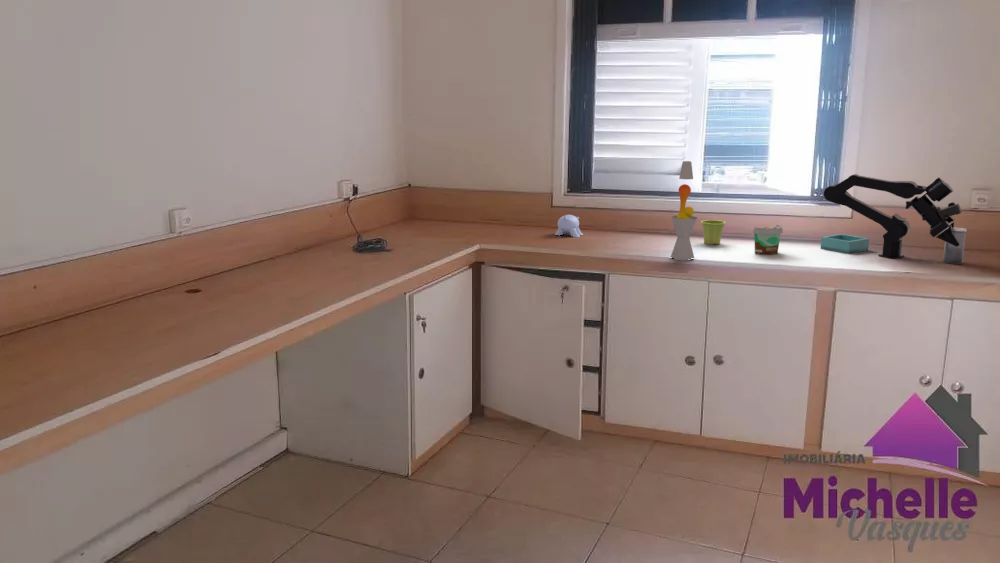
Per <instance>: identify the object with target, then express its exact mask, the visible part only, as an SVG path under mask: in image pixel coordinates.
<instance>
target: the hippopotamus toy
mask: <svg viewBox="0 0 1000 563" xmlns="http://www.w3.org/2000/svg"><path fill="white" fill-rule="evenodd" d="M579 219H580V217H579V216H575V215H573V214H565V215H563V216H561V217H560V218H559V219H558V220H557V227H558V229H557V230H556V232H555V234H554V236H555V235H563V234H564V235H566V234H567V232H569V234H570V237H572V236H573V237H572V238H579V237H581V236H580V235H582V236H583V235H584V233H583V232H582V231H581V229H580V227H579V226H580V221H579ZM564 235H563V236H564Z"/></svg>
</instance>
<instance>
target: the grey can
mask: <svg viewBox="0 0 1000 563" xmlns="http://www.w3.org/2000/svg"><path fill="white" fill-rule="evenodd" d="M967 230H968V229H967V228H965V227H958V226H957V227H956V226H954V227H952V229H951V232H952V233H953V235H954V236H955V238H956V239H957V241H958V243H959V244H960V245H959V246H954V245H952V244H950V243H948V242H946V241H944V247H943V248H944V249H943V257H942V263H943V264H944V263H945V264H948V265H949V264H950V265H962V264H963V261H964V260H963V259H964V252H965V244H966V235H967Z"/></svg>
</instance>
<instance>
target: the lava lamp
mask: <svg viewBox="0 0 1000 563" xmlns="http://www.w3.org/2000/svg"><path fill="white" fill-rule="evenodd" d="M681 162H682V164H681V168H680V173H679V180H693V179H694V176H693V166H692V161H690V160H683V161H681ZM691 192H692V188H691V186H690V185H688V184H686V183H685V184H681V185H680V186H679V187H678V195H679V201H680V204H679V205H680V206H679V211H678V215H673V216H671V220H672V224H673V226H674V227H673V228H674V230H675V234H676V237H677V238H676V241H675V244H674V247H673V249H672V250H671V251H672V252H671V255H670V257H672V258H674V259H675V261H689V260H688V259H691V258H695V255H694V252H693V246H692V242H691V238H690V237H691V235H692V232H693V230H694V228H695V225H696V222H697V220H698V217H697V216H694V212H695V210H694V208H693V207H692V206H689V205H688V206H686V205H687V200H688V198H689V196H690V194H691ZM674 259H673V260H674Z"/></svg>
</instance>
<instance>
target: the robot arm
mask: <svg viewBox="0 0 1000 563" xmlns="http://www.w3.org/2000/svg"><path fill="white" fill-rule="evenodd" d="M853 187H860V188H865V189H870V190H876V191H881V192H882V191H883V192H887V193H889V194H892V195H894V196H897V197H900V198H902V199H905V200H906V201H905V210H908V209H909V208H911V207H912V208H913V209H914V210H915V212H917V214H918V215H919V216H920V217H921V220H922V221H923V222H925V223H926V224H928V225H929V226H930V227H929V228H930V229H929V234H930V236H932V238H937V239H940V240H941V241H944V242H945V241H946V242H948V243H950V244H952V245H954V246H959V245H960V244H959V243H958V241H957V239H956V238H955V236H954V235H953V233H952V232H951V229H952V227H955V223H956V222H955V218H954V217H953V216H955V215H960V214H961V213H962V212H963V211H962V208H961V206H960V203H955V202H954V201H953V202H949V203H947V204H948V205H947V207H944V208H941V206H936V205H935V202H938V203H939V202H941V201H942V200H944V199H945V198H946V197H948V196H949V195H950V194H952V193H953V192H954V190H953V188H952V187H951V186H950V184H948V182H946V181H945V180H943V179H942V178H941V177H937V178H936V179H935V180H934V181H932V183H930V184H929V185H928V186H926V185H925V186H924V185H918V184H917V182H915V181H913V180H912V181H911V180H896V181H895V180H886V179H882V178H881V179H880V178H875V177H871V176H864V175H859V174H856V173H855V174H852V175H849V176H848V177H847V178H846V179H844V180H842V181H840V182H839V183H836V184H831V185H829V186H827V187H826V188H825V189H824V190H823V198H824V199H825V201H828V202H830V203H834V204H837V205H840V206H845V207H847V208H849V209H851V210H852V211H854V212H856V213H858V214H859V215H860V214H861V216H863V217H865V218H867V219H869V220H871V221H873V222H875V223H877V224H878V225H880V226H881V227H882V228H883V229H884V230H885V231H886V232H885V233H883V235H882V239H883V245H882V252H881V253H879V254H878V255H877V256H879V257H882V258H883V257H884V258H890V259H899V258H900V259H901V258H904V257H905V255H903V254H902V245H903V237H905V236H906V235H907V234H909V232H910V230H911V225H910V222H909V221H908V220H907V218H906V217H902V216H901V215H900V214H898V213H894V214H893V215H889V214H886V213H884V212H883V211H881V210H878V209H877V208H875V207H873V206H871V205H870V204H867V203H866V202H863V201H861V200H860V199H858V198H856V197H854V196H853V195H851V193H849V190H850V189H851V188H853ZM923 193H924V194H923ZM922 194H923V195H922ZM916 195H917V196H916ZM918 195H922V196H920V197H919V196H918ZM913 197H914V198H913ZM907 199H908V200H907ZM909 199H911V200H909ZM933 202H934V203H933Z"/></svg>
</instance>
